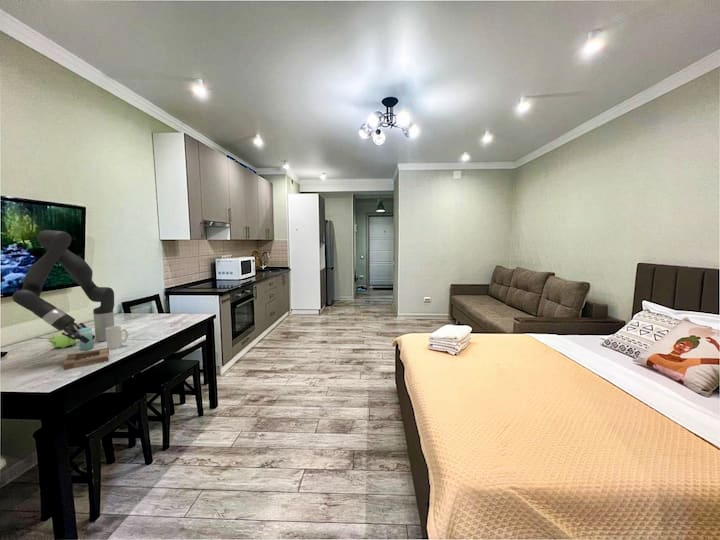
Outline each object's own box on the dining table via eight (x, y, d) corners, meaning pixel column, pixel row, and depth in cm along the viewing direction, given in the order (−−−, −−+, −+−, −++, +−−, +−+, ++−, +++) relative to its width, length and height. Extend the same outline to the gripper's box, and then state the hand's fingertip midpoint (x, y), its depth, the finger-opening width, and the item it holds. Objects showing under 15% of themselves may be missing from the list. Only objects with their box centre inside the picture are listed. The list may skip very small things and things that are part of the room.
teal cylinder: (80, 349, 145) (79, 328, 144) (93, 347, 149) (92, 326, 148) (79, 351, 142) (78, 330, 141) (92, 349, 145) (91, 329, 144)
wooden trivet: (68, 359, 147) (67, 354, 147) (108, 351, 157) (108, 347, 157) (63, 369, 135) (63, 365, 135) (108, 361, 145) (107, 356, 145)
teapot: (75, 347, 163) (74, 333, 162) (47, 351, 156) (45, 336, 156) (81, 341, 172) (79, 328, 171) (54, 345, 166) (53, 331, 165)
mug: (104, 350, 159) (103, 329, 158) (109, 346, 165) (108, 326, 164) (126, 347, 163) (125, 327, 162) (130, 344, 169) (129, 324, 168)
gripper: (55, 317, 134) (89, 339, 139) (74, 310, 148) (104, 330, 153) (42, 329, 133) (76, 350, 138) (61, 321, 146) (92, 341, 151)
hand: (90, 340), depth 145 cm, fingers closed on teal cylinder, 4 cm apart
